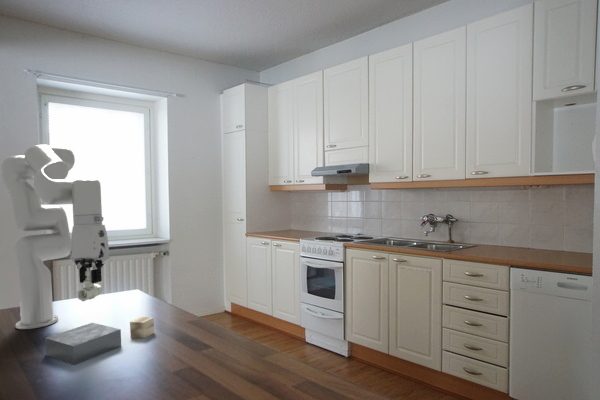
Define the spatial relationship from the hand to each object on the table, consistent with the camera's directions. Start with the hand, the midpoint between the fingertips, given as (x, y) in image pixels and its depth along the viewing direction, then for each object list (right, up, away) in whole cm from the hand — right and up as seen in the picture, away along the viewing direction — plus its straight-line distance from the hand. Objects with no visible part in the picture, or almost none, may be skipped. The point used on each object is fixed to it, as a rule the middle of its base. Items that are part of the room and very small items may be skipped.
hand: (90, 281), depth 117 cm
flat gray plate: (0, -19, -3) cm, 20 cm away
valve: (0, -5, 0) cm, 5 cm away
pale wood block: (+12, -19, +8) cm, 24 cm away
